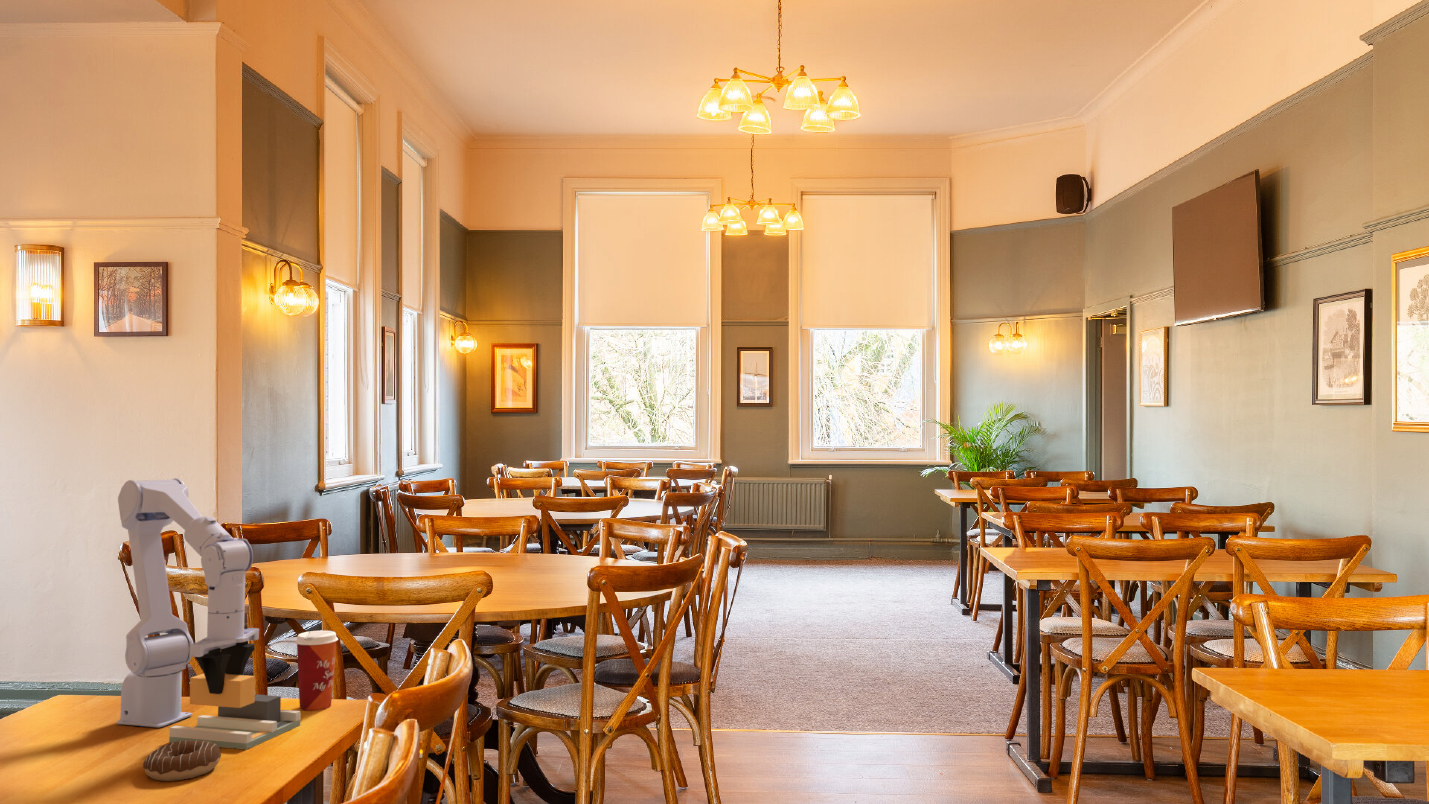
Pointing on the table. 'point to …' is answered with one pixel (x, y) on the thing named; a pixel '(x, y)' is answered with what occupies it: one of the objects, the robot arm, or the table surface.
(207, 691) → the wooden block
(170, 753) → the donut
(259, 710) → the dark grey block
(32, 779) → the table surface
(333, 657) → the paper cup
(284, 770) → the table surface
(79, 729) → the table surface
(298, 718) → the comb board
